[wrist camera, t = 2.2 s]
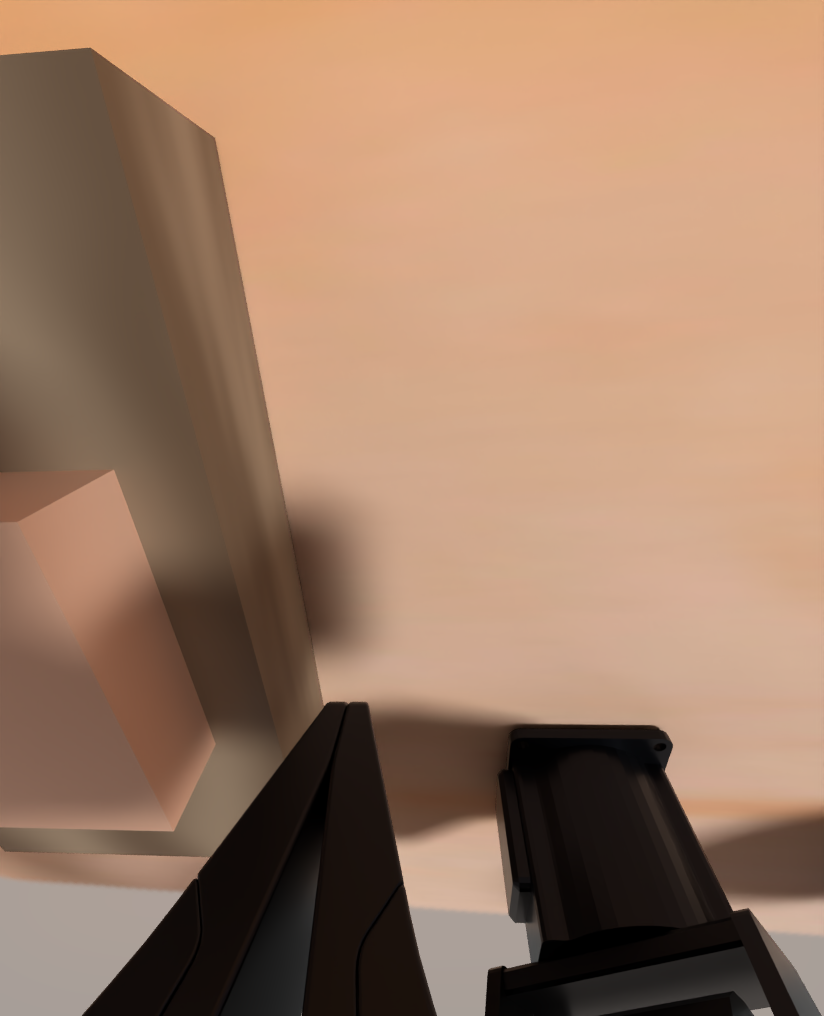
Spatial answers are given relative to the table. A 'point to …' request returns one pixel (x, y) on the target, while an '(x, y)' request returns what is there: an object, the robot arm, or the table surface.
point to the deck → (151, 405)
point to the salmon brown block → (88, 665)
